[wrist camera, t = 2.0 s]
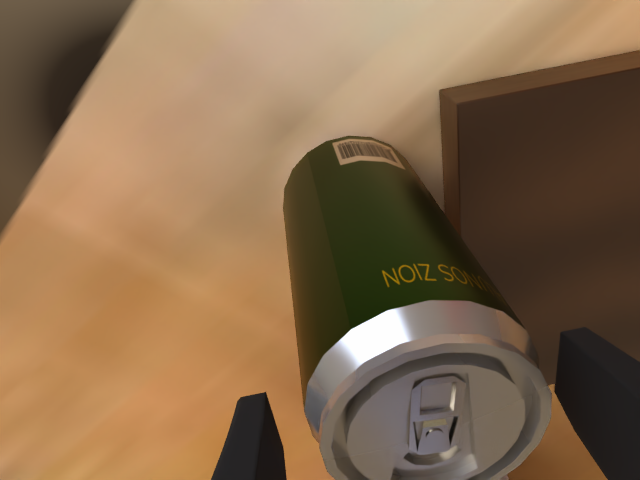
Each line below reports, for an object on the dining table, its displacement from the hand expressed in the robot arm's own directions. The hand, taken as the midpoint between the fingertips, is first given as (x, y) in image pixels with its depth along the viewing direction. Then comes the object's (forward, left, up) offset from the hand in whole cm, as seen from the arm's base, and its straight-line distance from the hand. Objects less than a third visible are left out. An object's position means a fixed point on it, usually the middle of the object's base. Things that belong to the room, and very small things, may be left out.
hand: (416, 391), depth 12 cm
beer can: (+1, 0, -11) cm, 11 cm away
